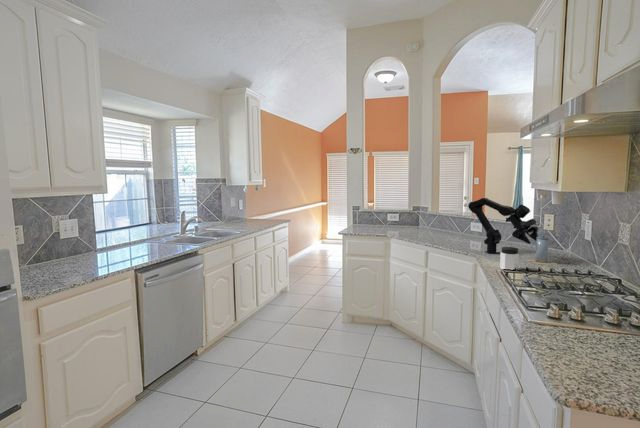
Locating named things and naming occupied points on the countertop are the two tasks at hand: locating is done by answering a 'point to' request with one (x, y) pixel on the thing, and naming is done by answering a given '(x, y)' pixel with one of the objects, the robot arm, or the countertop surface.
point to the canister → (542, 249)
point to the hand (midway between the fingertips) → (534, 242)
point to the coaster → (541, 263)
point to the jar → (509, 258)
